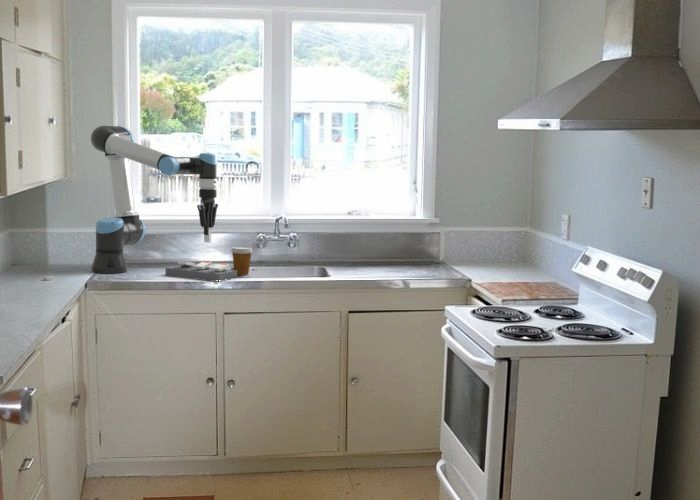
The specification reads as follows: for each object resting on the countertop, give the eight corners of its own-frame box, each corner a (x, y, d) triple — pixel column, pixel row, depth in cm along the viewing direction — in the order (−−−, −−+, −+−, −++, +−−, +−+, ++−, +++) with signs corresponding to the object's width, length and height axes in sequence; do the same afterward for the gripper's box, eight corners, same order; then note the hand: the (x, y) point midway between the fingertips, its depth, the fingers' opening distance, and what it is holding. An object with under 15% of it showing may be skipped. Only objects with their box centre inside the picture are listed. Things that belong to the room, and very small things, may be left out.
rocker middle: (194, 268, 370) (194, 265, 370) (203, 263, 376) (203, 260, 376) (203, 269, 368) (202, 266, 368) (212, 264, 374) (211, 261, 374)
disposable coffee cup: (248, 276, 377) (248, 249, 375) (227, 274, 379) (228, 248, 377) (254, 273, 386) (255, 247, 385) (234, 272, 388) (235, 246, 387)
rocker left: (177, 263, 373) (178, 260, 373) (186, 265, 380) (187, 262, 380) (185, 264, 372) (186, 261, 372) (194, 265, 378) (195, 262, 378)
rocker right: (212, 270, 366) (211, 267, 366) (220, 265, 372) (220, 262, 372) (220, 271, 364) (220, 268, 364) (229, 266, 370) (229, 263, 370)
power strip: (165, 275, 371) (165, 266, 370) (184, 271, 383) (184, 263, 383) (219, 281, 359) (219, 272, 359) (237, 277, 372) (237, 269, 371)
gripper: (206, 189, 363) (206, 244, 365) (223, 188, 374) (222, 241, 377) (192, 188, 366) (191, 242, 368) (209, 187, 377) (208, 240, 380)
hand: (207, 242), depth 373 cm, fingers closed
